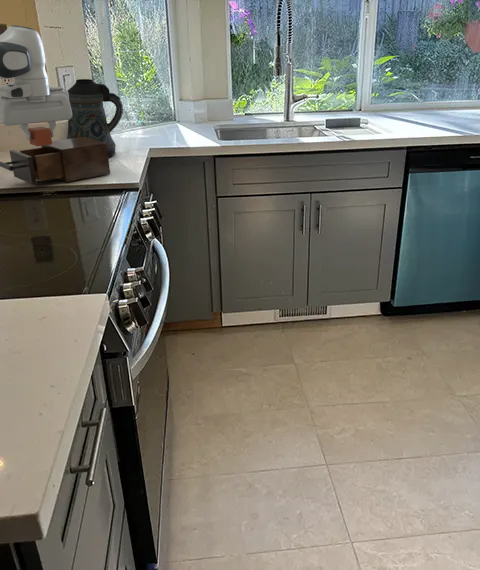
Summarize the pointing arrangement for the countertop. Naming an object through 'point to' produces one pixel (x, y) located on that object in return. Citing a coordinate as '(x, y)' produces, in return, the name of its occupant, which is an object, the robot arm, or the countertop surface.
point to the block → (40, 136)
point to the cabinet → (82, 157)
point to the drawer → (35, 164)
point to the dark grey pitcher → (92, 112)
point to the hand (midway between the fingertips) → (40, 138)
